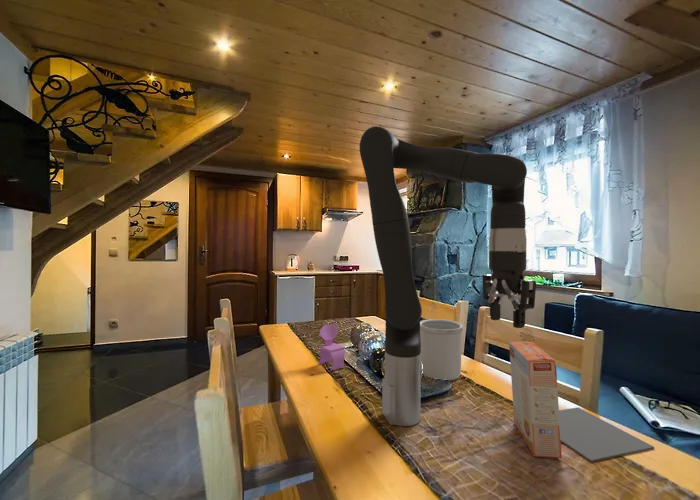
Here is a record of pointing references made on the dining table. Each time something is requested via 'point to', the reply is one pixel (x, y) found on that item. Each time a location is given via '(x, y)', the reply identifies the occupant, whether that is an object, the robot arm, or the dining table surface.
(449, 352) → the utensil holder
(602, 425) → the mat
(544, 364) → the cracker box
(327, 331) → the toy chair
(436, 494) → the dining table surface
